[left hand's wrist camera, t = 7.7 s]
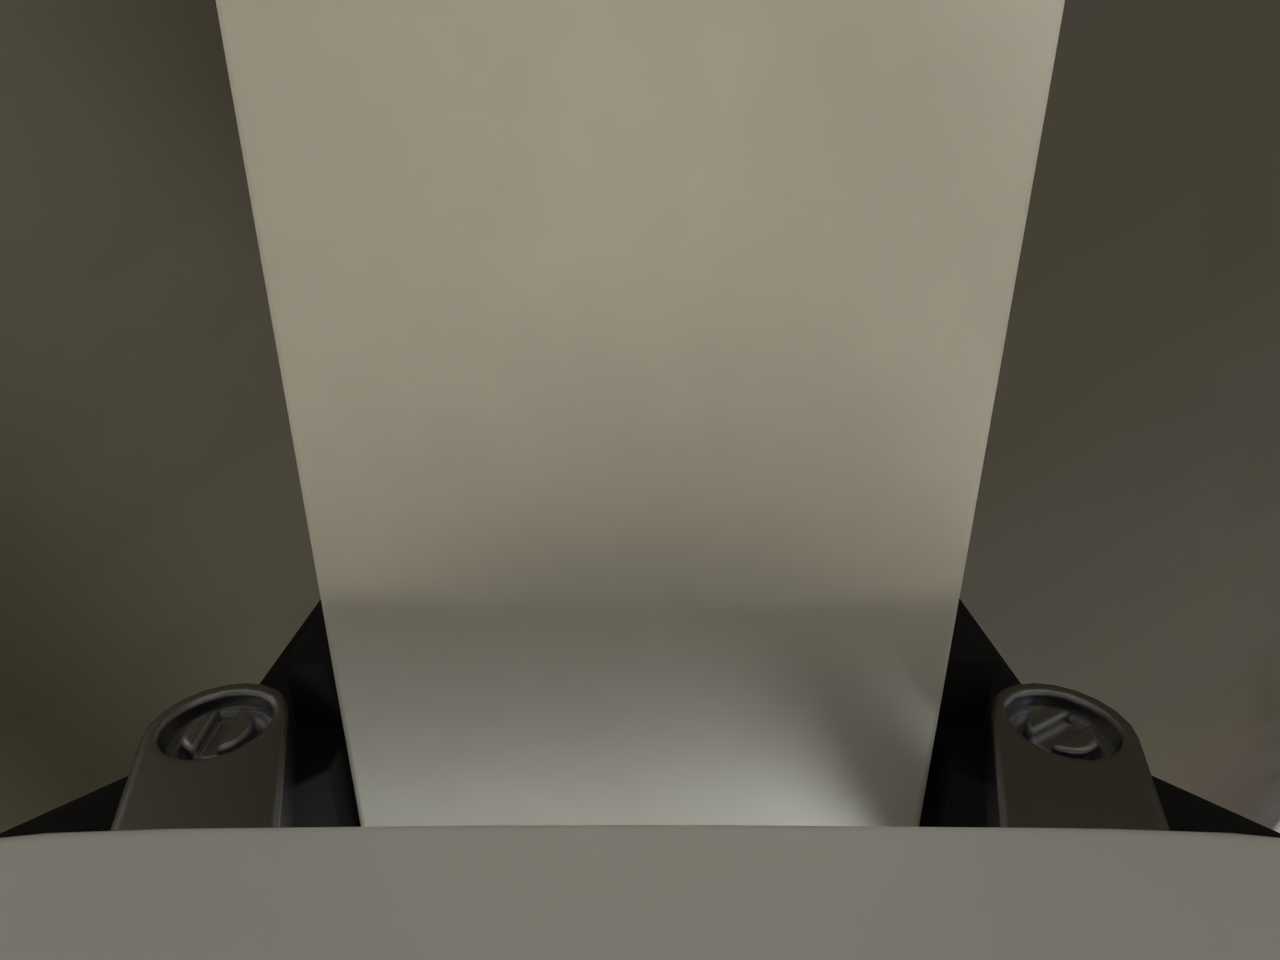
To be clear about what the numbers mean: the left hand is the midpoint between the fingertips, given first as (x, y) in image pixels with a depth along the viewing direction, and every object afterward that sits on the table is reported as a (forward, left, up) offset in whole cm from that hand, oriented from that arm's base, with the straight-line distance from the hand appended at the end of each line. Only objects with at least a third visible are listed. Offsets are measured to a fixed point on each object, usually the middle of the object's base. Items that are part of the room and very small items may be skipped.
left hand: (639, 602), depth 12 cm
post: (+24, +5, -2) cm, 25 cm away
